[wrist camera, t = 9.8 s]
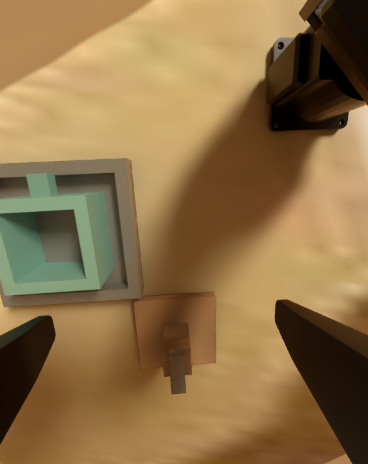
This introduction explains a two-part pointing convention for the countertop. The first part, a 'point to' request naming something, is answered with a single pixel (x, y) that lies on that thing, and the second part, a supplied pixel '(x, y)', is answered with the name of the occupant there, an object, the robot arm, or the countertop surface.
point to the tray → (65, 228)
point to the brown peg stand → (176, 333)
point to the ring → (30, 248)
